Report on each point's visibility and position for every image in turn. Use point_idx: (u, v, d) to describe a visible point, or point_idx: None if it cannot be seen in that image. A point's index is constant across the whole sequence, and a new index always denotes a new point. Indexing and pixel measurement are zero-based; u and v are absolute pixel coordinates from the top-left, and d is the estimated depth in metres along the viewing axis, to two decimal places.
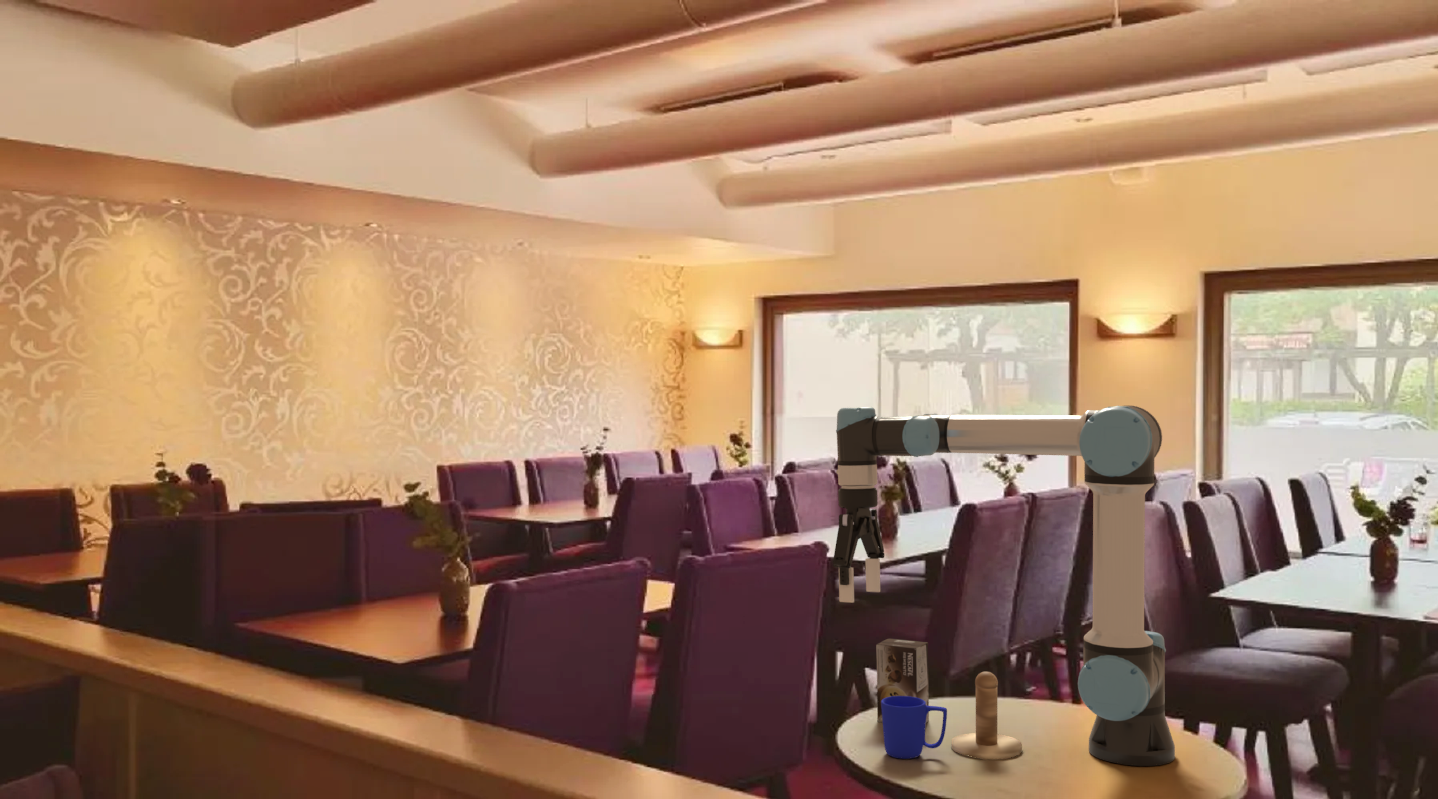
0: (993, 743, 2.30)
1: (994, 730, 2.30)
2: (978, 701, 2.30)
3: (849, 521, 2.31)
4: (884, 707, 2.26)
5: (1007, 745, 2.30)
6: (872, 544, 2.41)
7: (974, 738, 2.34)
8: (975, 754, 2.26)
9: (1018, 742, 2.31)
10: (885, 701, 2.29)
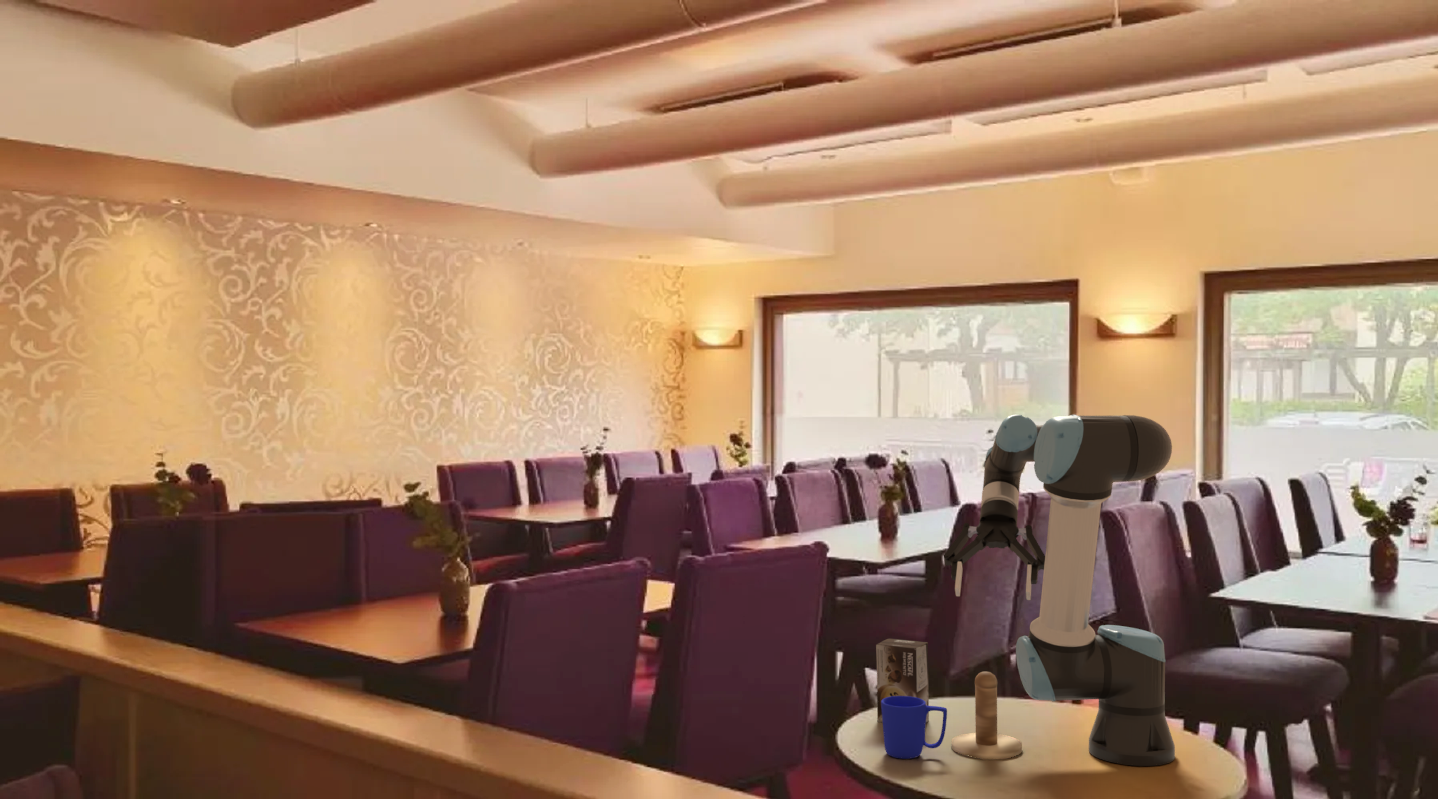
0: (993, 743, 2.30)
1: (994, 729, 2.30)
2: (978, 701, 2.30)
3: None
4: (884, 707, 2.26)
5: (1007, 744, 2.30)
6: (1020, 553, 2.45)
7: (974, 738, 2.34)
8: (975, 754, 2.26)
9: (1018, 742, 2.31)
10: (885, 701, 2.29)
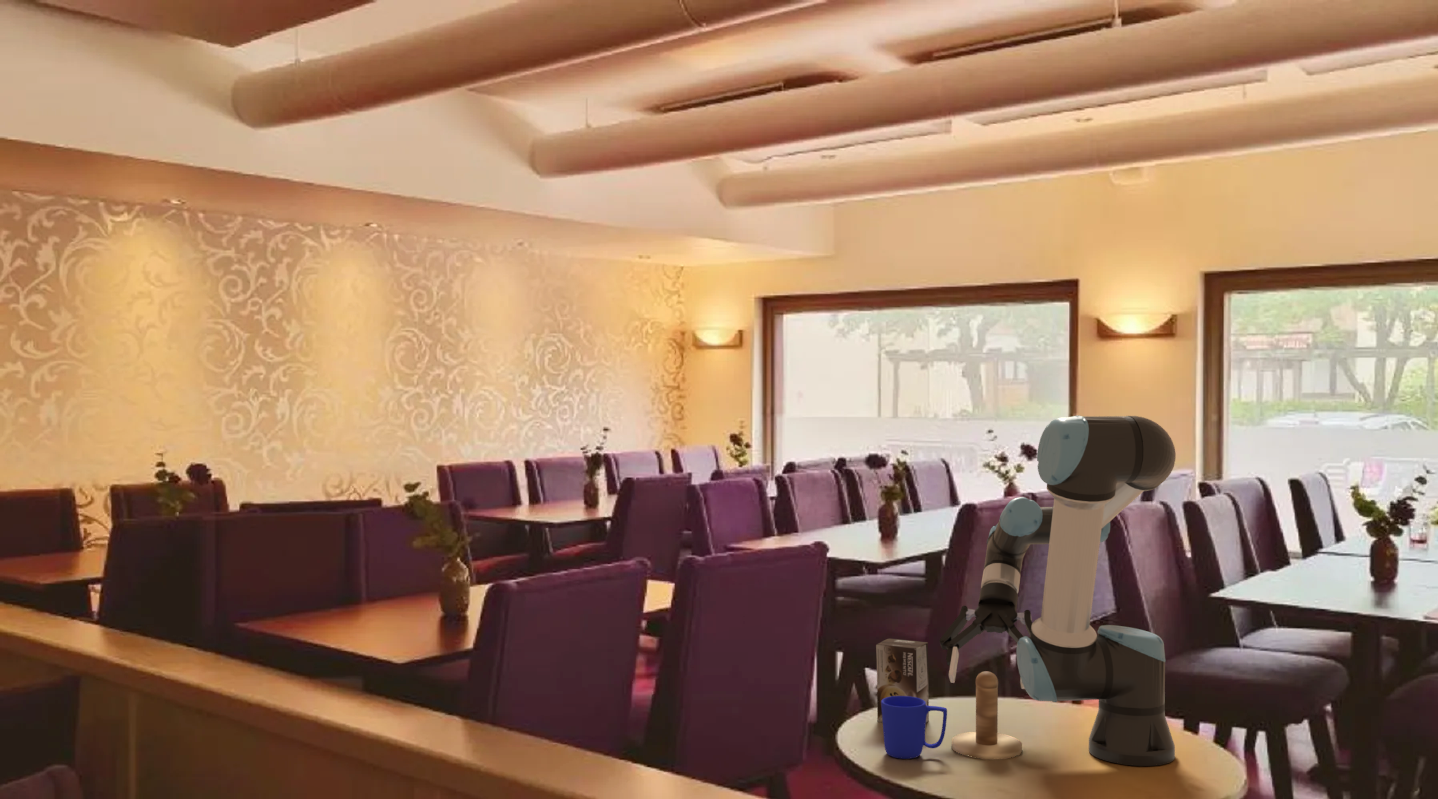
0: (993, 743, 2.30)
1: (994, 729, 2.30)
2: (979, 701, 2.30)
3: None
4: (884, 707, 2.26)
5: (1007, 744, 2.30)
6: (1017, 639, 2.40)
7: (974, 737, 2.34)
8: (975, 754, 2.26)
9: (1018, 741, 2.32)
10: (885, 701, 2.29)
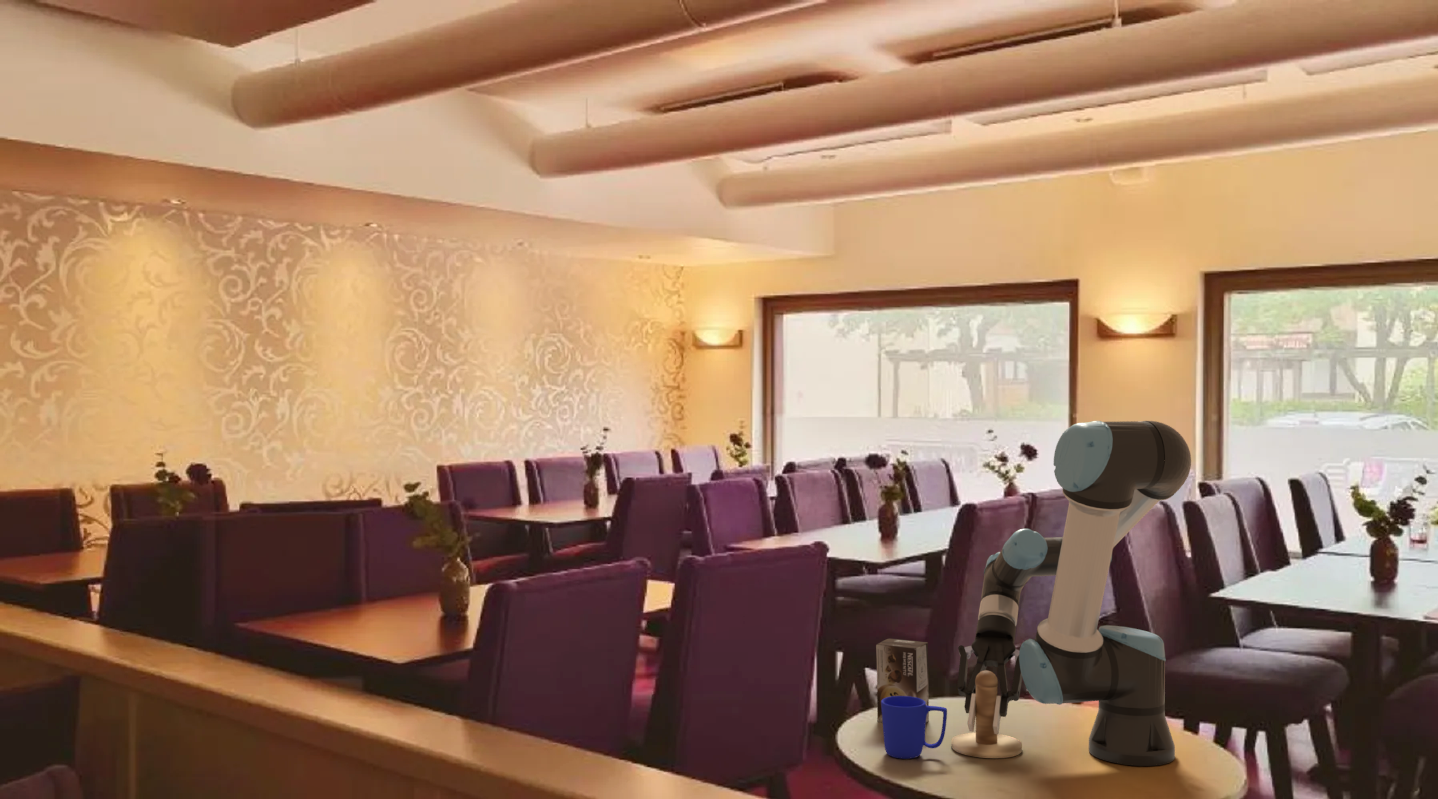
0: (993, 742, 2.30)
1: None
2: (979, 700, 2.30)
3: (959, 652, 2.39)
4: (884, 707, 2.26)
5: (1007, 743, 2.30)
6: None
7: (973, 737, 2.34)
8: (976, 753, 2.26)
9: (1017, 741, 2.32)
10: (885, 701, 2.29)
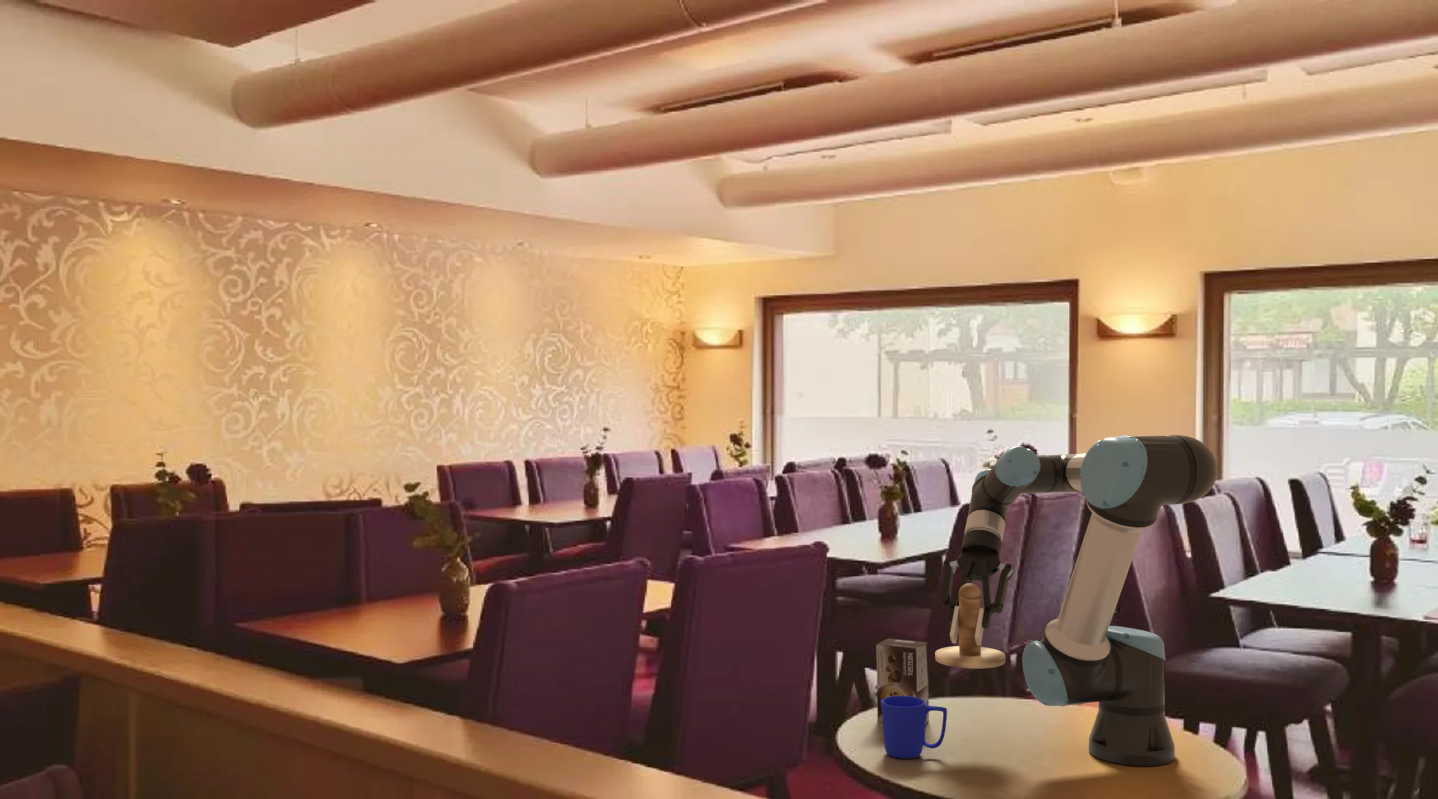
0: (976, 654, 2.31)
1: None
2: (962, 612, 2.31)
3: (944, 566, 2.40)
4: (884, 707, 2.26)
5: (990, 655, 2.31)
6: None
7: (957, 650, 2.35)
8: (958, 663, 2.27)
9: (1001, 653, 2.32)
10: (885, 701, 2.29)
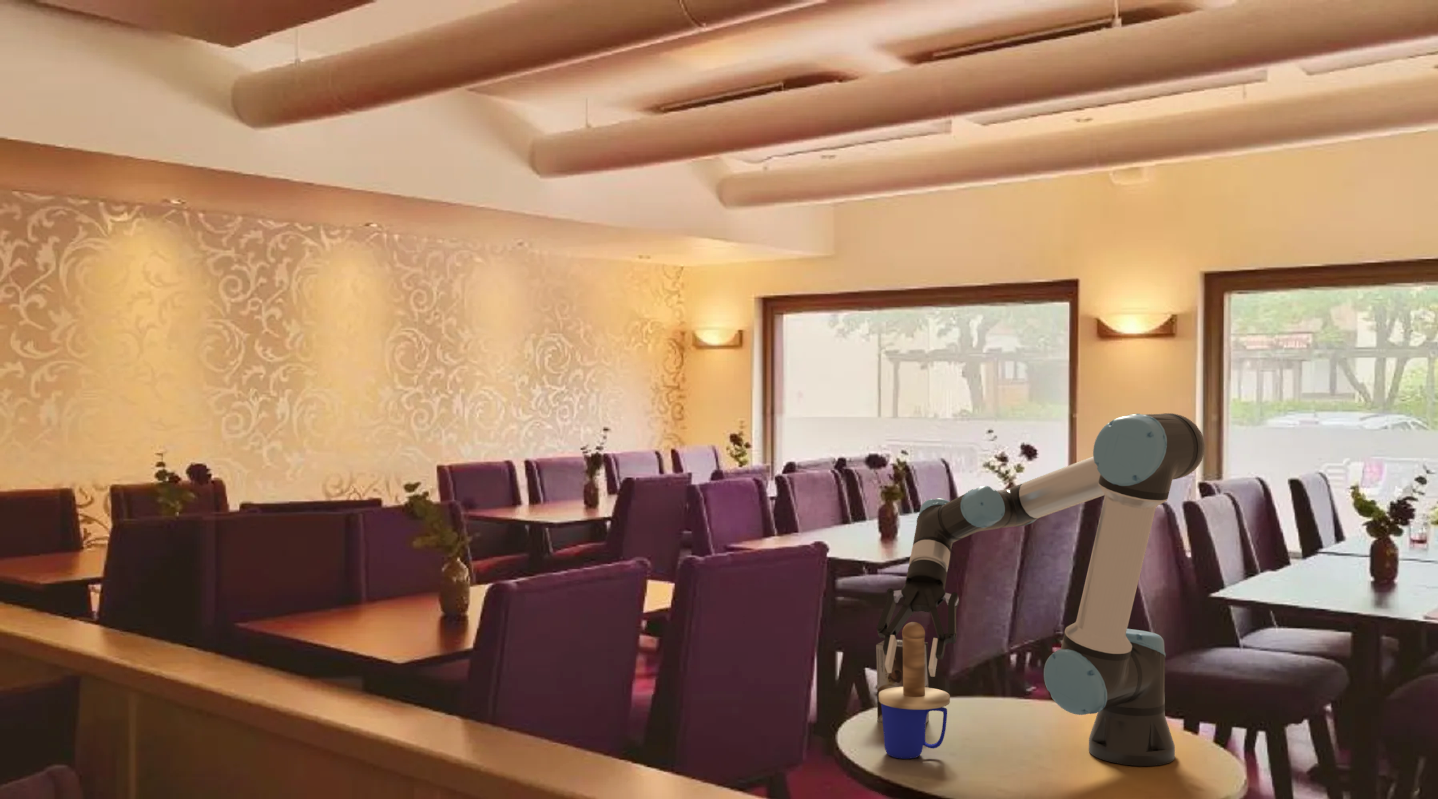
0: (921, 694, 2.26)
1: (921, 680, 2.26)
2: (905, 652, 2.26)
3: (887, 594, 2.36)
4: (884, 707, 2.26)
5: (935, 696, 2.26)
6: (933, 621, 2.29)
7: (901, 691, 2.30)
8: (902, 704, 2.22)
9: (946, 693, 2.28)
10: None
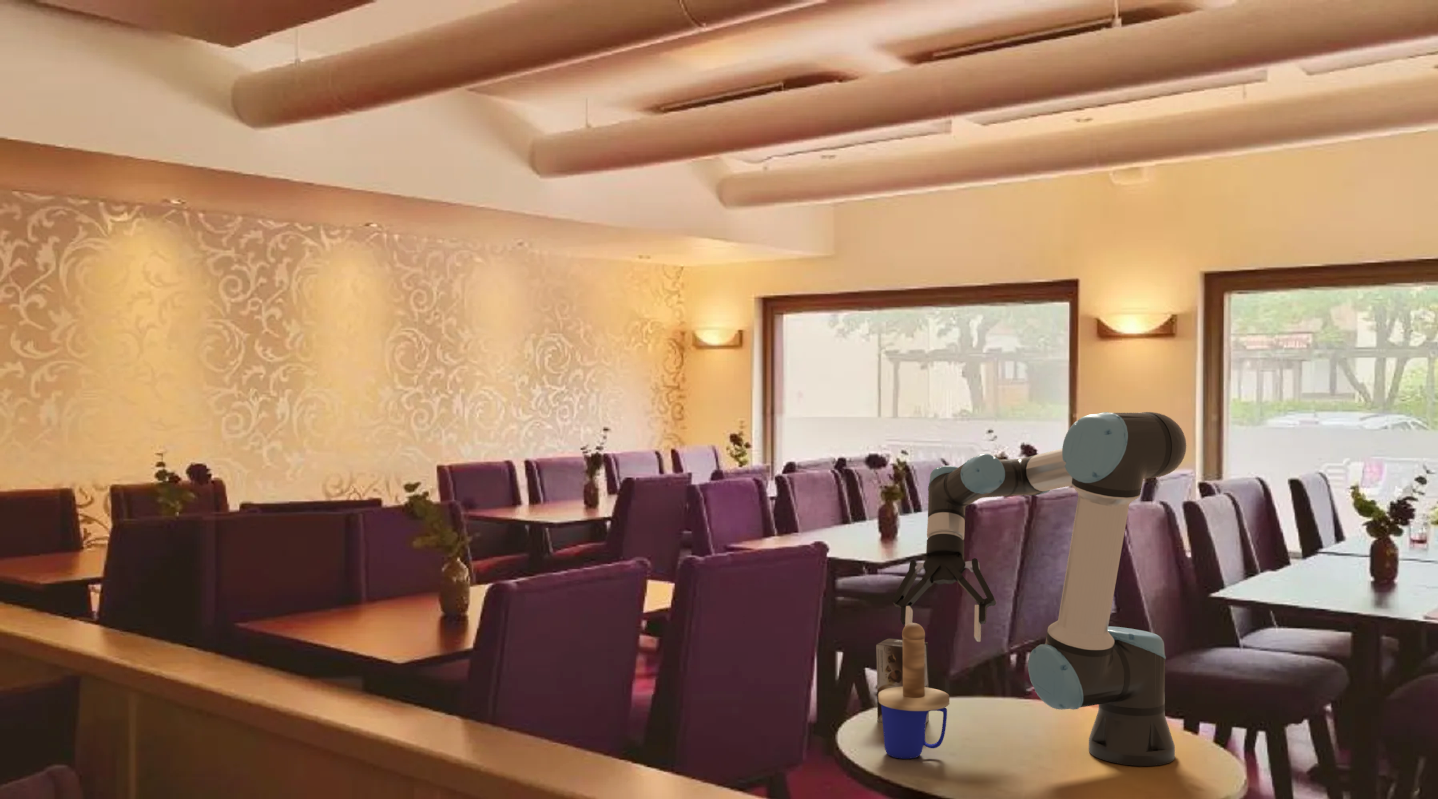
0: (920, 695, 2.26)
1: (921, 681, 2.26)
2: (905, 653, 2.26)
3: None
4: (884, 707, 2.26)
5: (934, 696, 2.26)
6: (968, 591, 2.42)
7: (901, 691, 2.30)
8: (902, 706, 2.22)
9: (945, 694, 2.28)
10: None
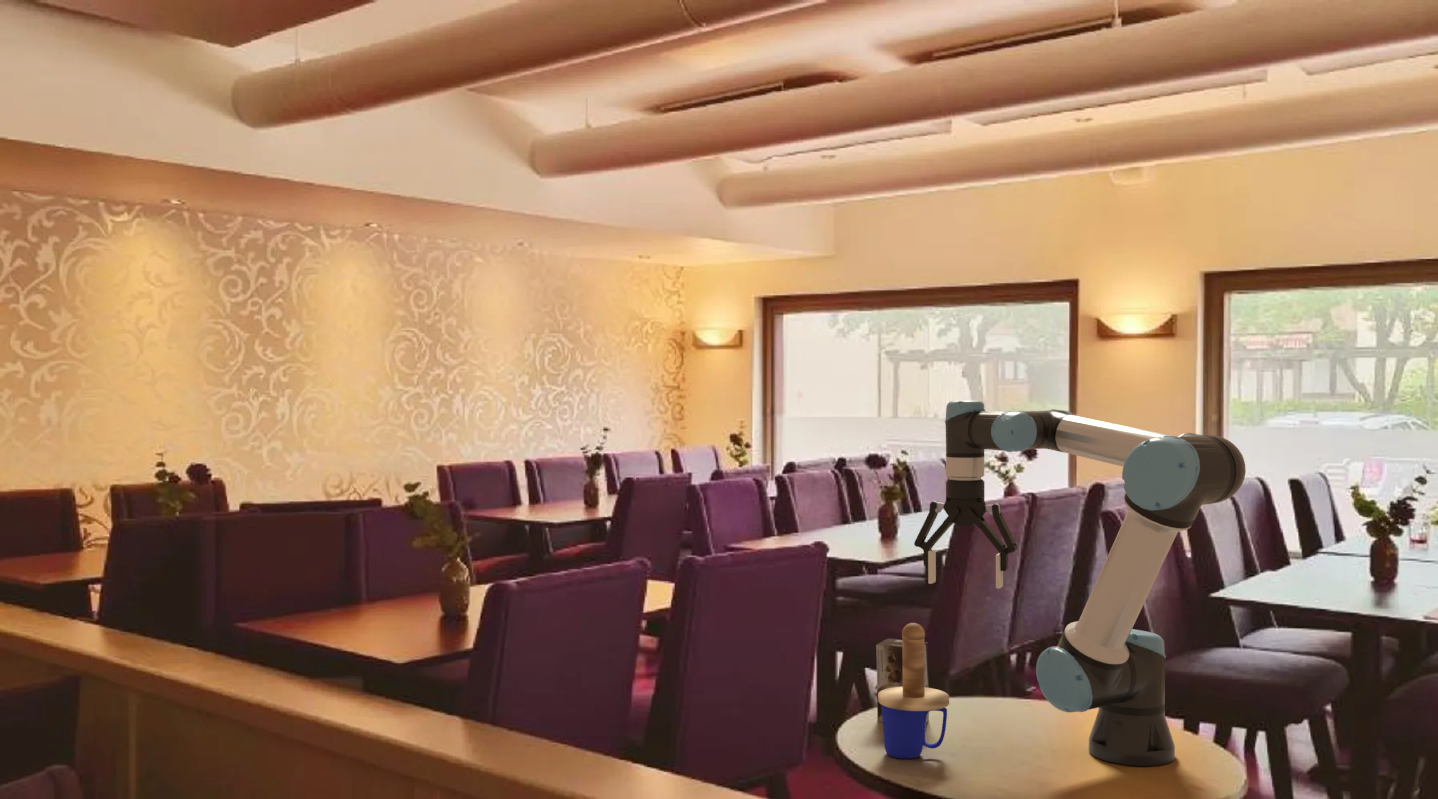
0: (920, 695, 2.26)
1: (921, 681, 2.26)
2: (905, 653, 2.26)
3: None
4: (884, 707, 2.26)
5: (934, 697, 2.26)
6: None
7: (901, 691, 2.30)
8: (902, 706, 2.22)
9: (945, 694, 2.28)
10: None
